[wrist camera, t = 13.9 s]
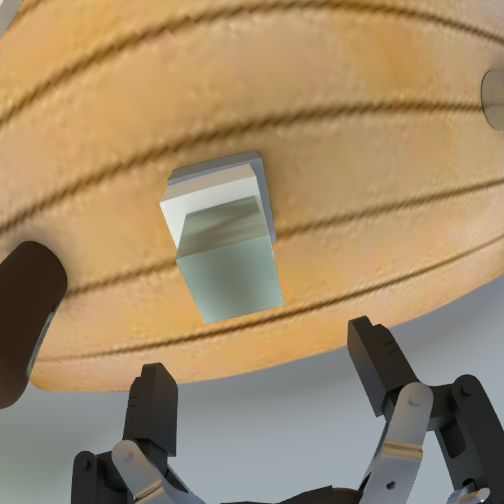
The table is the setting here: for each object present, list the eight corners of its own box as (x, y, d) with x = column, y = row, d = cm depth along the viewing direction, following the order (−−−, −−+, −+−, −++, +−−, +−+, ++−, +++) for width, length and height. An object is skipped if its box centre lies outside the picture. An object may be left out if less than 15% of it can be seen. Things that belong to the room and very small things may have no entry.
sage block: (254, 195, 19) (268, 234, 14) (268, 254, 22) (284, 304, 17) (186, 214, 20) (175, 259, 14) (207, 269, 22) (205, 323, 17)
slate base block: (255, 149, 25) (261, 157, 22) (269, 222, 30) (276, 241, 26) (173, 169, 25) (167, 180, 22) (195, 240, 30) (193, 260, 26)
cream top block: (249, 163, 22) (255, 175, 19) (266, 236, 26) (274, 259, 22) (167, 185, 22) (159, 202, 19) (193, 254, 26) (190, 280, 22)
